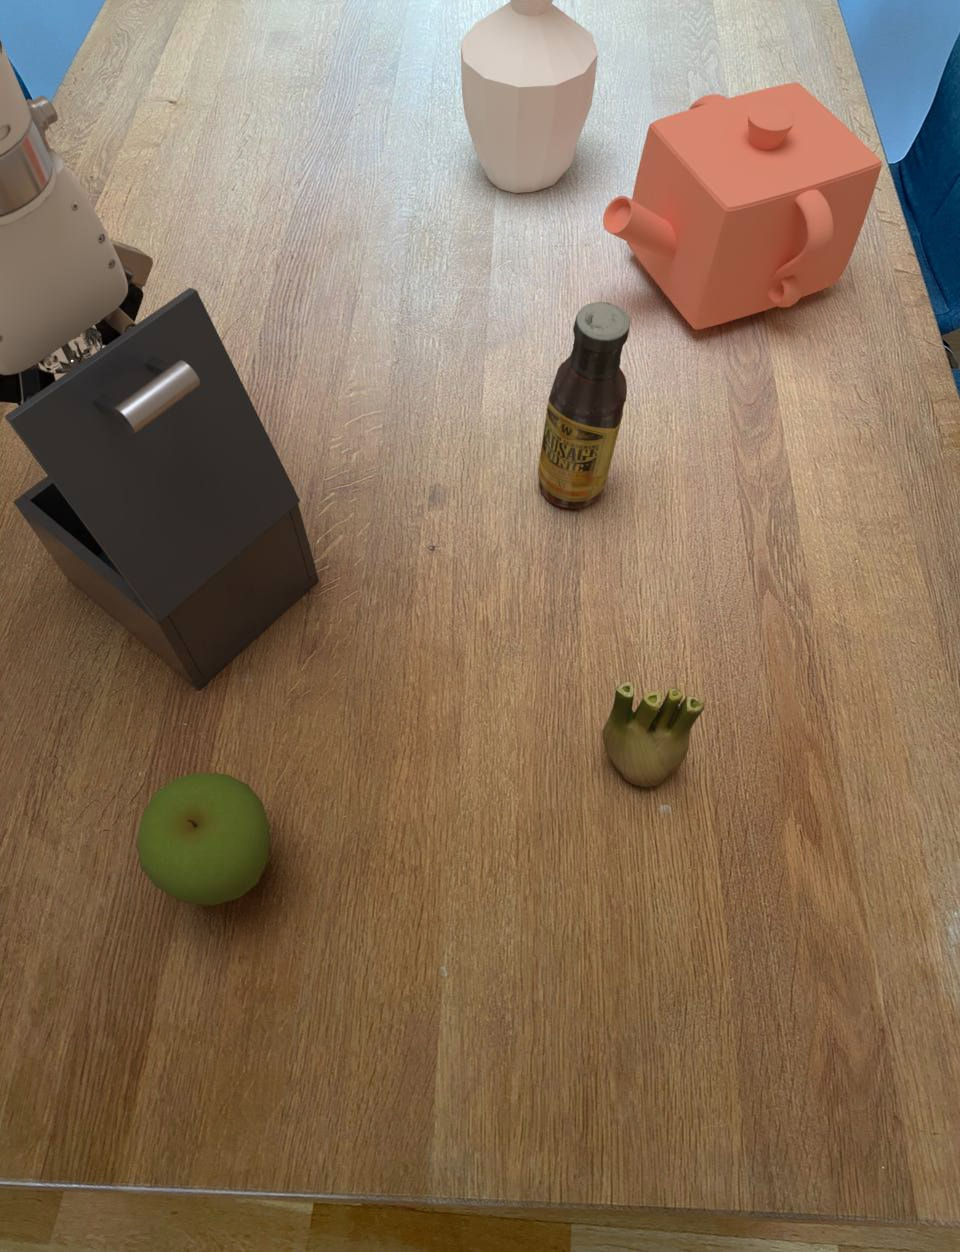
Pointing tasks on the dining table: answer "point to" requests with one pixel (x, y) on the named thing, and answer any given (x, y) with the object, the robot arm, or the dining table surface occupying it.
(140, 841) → the apple
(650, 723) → the fennel bulb
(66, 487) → the lid
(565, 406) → the sauce bottle
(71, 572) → the chest
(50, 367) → the wineglass
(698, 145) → the teapot
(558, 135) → the vase
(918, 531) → the dining table surface
